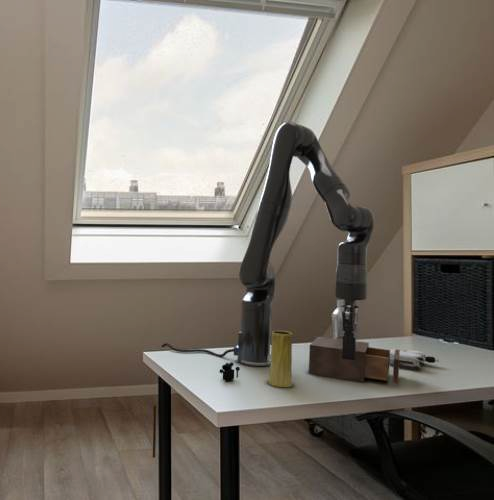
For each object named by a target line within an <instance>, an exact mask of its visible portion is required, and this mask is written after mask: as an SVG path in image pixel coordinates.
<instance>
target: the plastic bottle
mask: <svg viewBox="0 0 494 500" xmlns="http://www.w3.org/2000/svg"><path fill="white" fill-rule="evenodd" d="M344 303H345V300H344V299H337V300H336V306H337V307H336V308H335V309H334V310H333V312H332V313H331V324H332V338H334V339H342V340H343V336H340V327H341V326H343V323H342V312H341V306H343V305H344Z"/></svg>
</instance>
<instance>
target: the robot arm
mask: <svg viewBox="0 0 494 500" xmlns="http://www.w3.org/2000/svg"><path fill="white" fill-rule="evenodd" d="M293 158H296V159H298V160H300V162H301V163H303V164H304V166H305V167H306V168H307V170H308V172H309V174H310V180H311V183H312V186H313V188H314V190H315V192H316V193H317V195H318V196H319V198H320V199H321V200H322V201H323V203H324V204H325V207H326V211H327V213H328V216H329V217H328V218H329V219H330V222H331V224H332V225H333V226H334V227H335V228H336V229H337V230H339V231H341V232H343V233H348V235H347V238H346V240H344V241H342V242H339V244H338V246H337V256H336V257H337V259H336V263H337V264H336V269H335V286H334V287H335V288H334V297H335V298H336V299H338V300H345V303H344V305H343V306H341V312H342V323H343V328H342V330H343V332H344V346H345V347H353V336H354V331H355V330H354V327H358V324H357V323H358V322H359V312H360V305H357V301H365V300H367V298H368V297H367V296H368V266H367V264H368V262H367V261H368V247H369V245H370V241H371V238H372V235H373V231H374V227H375V216H374V213H373V211H372V210H371V209H370V208H369V207H367V206H366V205H365V206H364V205H354V204H353V205H352V204H351V203H350V202H349V201H350V200H351V198H352V192H351V190H350V189H349V187H348V186H347V184H346V183H345V182H344V180H343V179H342V178H341V176H340V175H339V174H338V173H337V171H336V169H334V167H333V166H332V164H331V162H330V161H329V159H328V157H327V156H326V154H325V152H324V150H323V148H322V147H321V143H320V142H319V139H318V138H317V136H316V134H315V133H314V131H313V130H312V129H311V128H309V127H307V126H305V125H302V124H299V123H296V122H293V121H287V122H284V123H283V124H281V125H280V126H279V127H278V129H277V130H276V133H275V135H274V138H273V142H272V148H271V154H270V161H269V166H268V170H267V174H266V178H265V183H264V187H263V191H262V194H261V197H260V201H259V204H258V207H257V211H256V215H255V219H254V222H253V227H252V231H251V236H250V239H249V243H248V246H247V248H246V251H245V254H244V256H243V259H242V261H241V263H240V267H239V270H238V277H239V280H240V282H241V284H242V285H243V286H244V287H245V294H244V296H243V298H242V299H241V303H240V306H241V307H240V331H239V332H238V335H237V336H238V337H237V338H238V339H237V341H238V342H237V345H235V346H234V347H233V348H230V349H227V350H225V351H224V352H223V353H221V354H220V353H219V354H218V353H216V352H214V351H211V350H209V349H204V348H203V349H202V348H197V349H196V348H192V349H182V348H181V349H180V348H177V347H174V346H172V345H171V344H170V343H168V342H165V343H163V344H162V345H161V346H160V347H161V348H164V347H166V346H167V347H169V348H170V349H171V350H172V351H174V352H178V353H207V354H210V355H211V356H214V357H218V358H224V357H225V356H226V355H227V354H229V353H233V356H236V357H237V363H241V364H242V365H246V366H249V367H250V366H251V367H267V366H270V363H271V339H272V307H273V303H274V299H275V288H276V270H275V267H274V264H273V263H271V261H270V258H271V254H272V250H273V248H274V245H275V244H276V242H277V240H278V238H279V237H280V235H281V233H282V232H283V230H284V229H285V226H286V224H287V222H288V220H289V219H288V218H289V215H290V211H291V208H292V205H293V191H292V185H291V177H290V175H291V174H290V173H291V172H290V171H291V165H292V162H293ZM346 326H351V327H346ZM152 411H153V417H152V418H153V421H152V422H153V423H152V424H153V425H152V429H153V431H152V458H156V443H157V442H156V441H157V439H156V437H157V432H156V431H157V405H153V410H152Z"/></svg>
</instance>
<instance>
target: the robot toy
mask: <svg viewBox="0 0 494 500" xmlns="http://www.w3.org/2000/svg"><path fill="white" fill-rule="evenodd" d="M389 350H390V364H392V365H394V354H395V349H389ZM399 360H404V361H411V362H414V361H418V362H419V364H420V366H422V365H424V363H429V364H435V363H438V362H440V359H439V358H435V357H434V356H429V355H428V356H426V353H424V352H423V351H419V350H413V349H409V350H400V358H399ZM399 365H406V366H413V364H408V363H401V362H399Z"/></svg>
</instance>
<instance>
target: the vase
mask: <svg viewBox="0 0 494 500" xmlns="http://www.w3.org/2000/svg"><path fill="white" fill-rule="evenodd" d="M292 347H293V333H292V332H291V331H287V330H271V341H270V355H271V359H270V365H269V378H268V384H269V385H271V386H273V387H277V388H290V387H292V386H293V381H292V380H293V379H292V378H293V376H292V372H293V371H292V363H293V361H292V359H293V358H292V357H293V355H292V354H293V353H292V352H293V351H292V349H293V348H292Z"/></svg>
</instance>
